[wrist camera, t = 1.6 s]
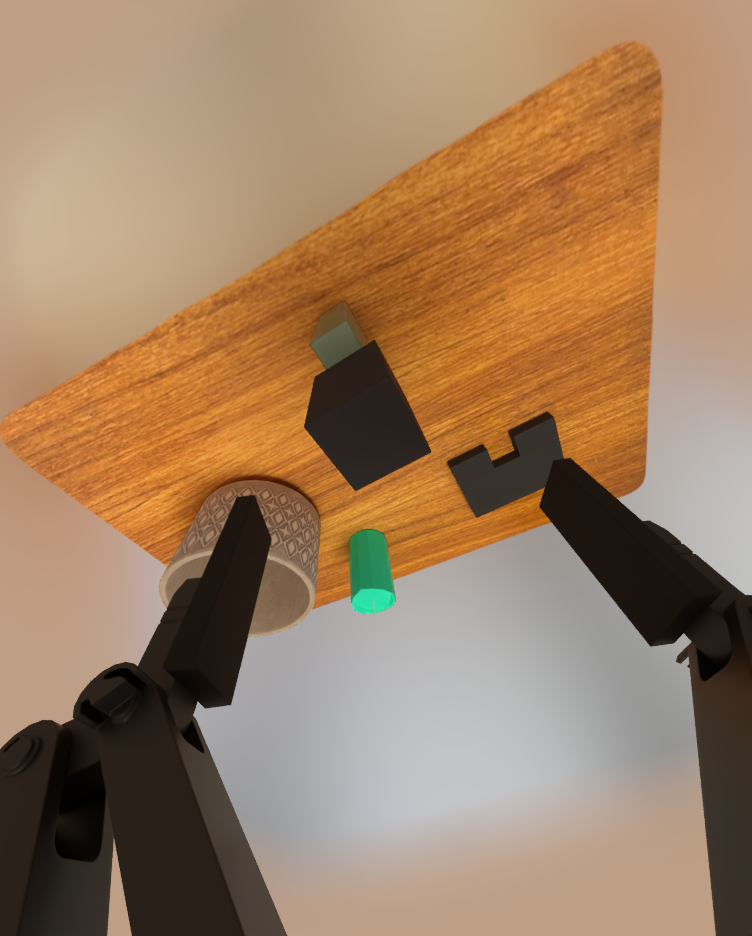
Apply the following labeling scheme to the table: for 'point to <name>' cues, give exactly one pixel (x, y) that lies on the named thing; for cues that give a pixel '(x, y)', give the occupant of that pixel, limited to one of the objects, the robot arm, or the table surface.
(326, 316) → the stand
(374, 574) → the candle
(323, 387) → the black rectangular block
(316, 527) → the planter
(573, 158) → the table surface
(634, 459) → the table surface
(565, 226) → the table surface
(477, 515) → the pad
